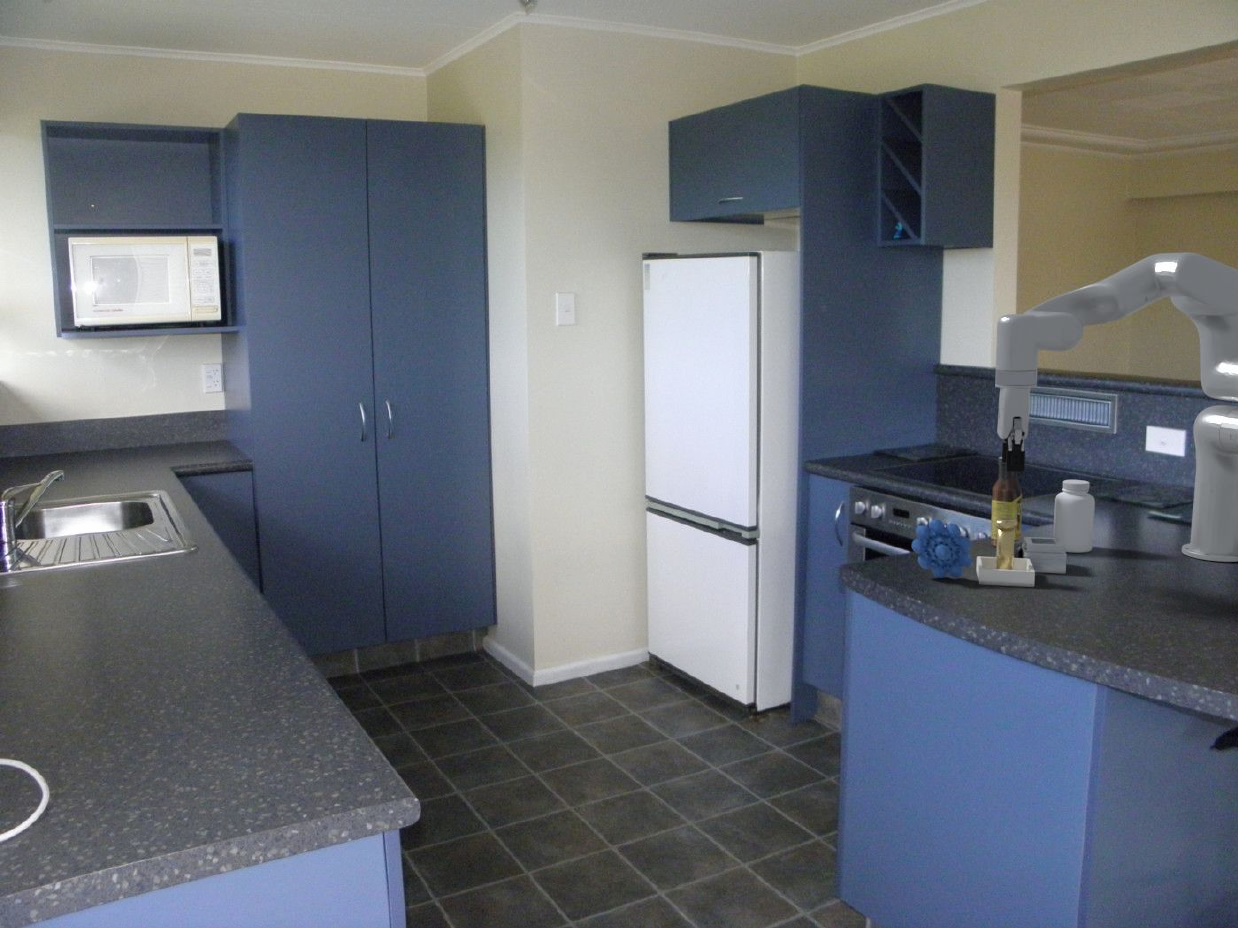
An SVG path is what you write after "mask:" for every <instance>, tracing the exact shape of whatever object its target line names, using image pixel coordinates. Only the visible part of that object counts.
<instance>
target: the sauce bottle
mask: <svg viewBox="0 0 1238 928" xmlns="http://www.w3.org/2000/svg"><path fill="white" fill-rule="evenodd" d="M997 464H998V474H997V476H998V479H997V480H996V481H995V483H994V484H993V486H992V499H991V521H990V523H991V525H990V527H991V528H990V539H991V541H990V543H991V545H992V547H995V548H996V541H997V527H996V526H995V520H996V519H998V518H1012V519H1016V520H1017V527H1016V528H1015V536H1014V540H1017V541H1020V542H1021V540H1022V515H1023V513H1022V512H1023V511H1022V508H1023V491H1022V489H1021V486H1020V482H1019V480H1018V474H1017V473H1018V472H1013V471H1007V470H1006V463H1003V462H1002V456H999V457H998V460H997Z"/></svg>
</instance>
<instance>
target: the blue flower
mask: <svg viewBox="0 0 1238 928" xmlns="http://www.w3.org/2000/svg"><path fill="white" fill-rule="evenodd" d="M915 533H916V536H917V537H918V538H916V539H914V540H913V541H912V542H911V549H912V550H913V551H914V552H915V553H916V554H918V557H917V562H918V565H919V566H920V567H921V568H922V569H925V570H929V569H931V572H932V574H933V575H934V576H935V577H936V578H939V579H941V578H942V579H944V578H947V576H948V575H950V577H953V578H955V579H958V578H959V577H961V576H962V575H963V573H964V570H963V568H969V567H971V566H972V565H973V561H974V560H973V558H972V556H971V554H970V553H968V552H969V551H971V549H972V542H971V540H970V539H969V538H968V537H965V536H963V535H962V536H961V534H962V531H961V528H960V527H959V525H957V524H955V523H948V524H946V525H945V523H944V522H943V521H942V520H940V519H937V518H934V519H932V520H930V522H929V525H928V526H927V525H919V526H917V527H916V530H915Z"/></svg>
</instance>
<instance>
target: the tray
mask: <svg viewBox="0 0 1238 928" xmlns="http://www.w3.org/2000/svg"><path fill="white" fill-rule="evenodd" d="M996 562H997V557H996V556H980V555H979V556H976V568H975V571H976V574H977V581H978V584H979V585H985V586H987V585H989V586H1007V587H1008V586H1009V587H1024V588H1025V587H1027V588H1030V587H1031V588H1034V587H1035V579H1036V578H1035V577H1036V572H1035V571H1034V569H1033V566H1032V564H1031V561H1030V559H1024V558H1014V570H1001V569H996Z"/></svg>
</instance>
